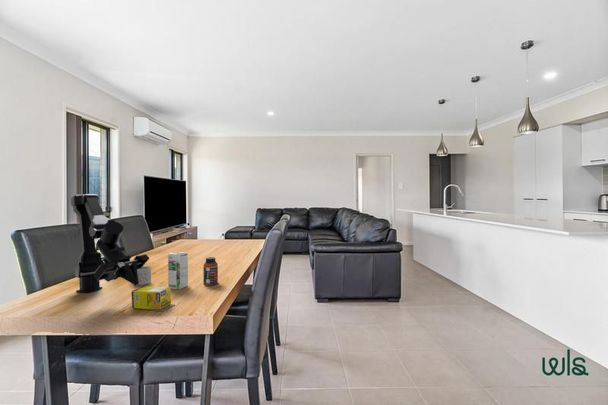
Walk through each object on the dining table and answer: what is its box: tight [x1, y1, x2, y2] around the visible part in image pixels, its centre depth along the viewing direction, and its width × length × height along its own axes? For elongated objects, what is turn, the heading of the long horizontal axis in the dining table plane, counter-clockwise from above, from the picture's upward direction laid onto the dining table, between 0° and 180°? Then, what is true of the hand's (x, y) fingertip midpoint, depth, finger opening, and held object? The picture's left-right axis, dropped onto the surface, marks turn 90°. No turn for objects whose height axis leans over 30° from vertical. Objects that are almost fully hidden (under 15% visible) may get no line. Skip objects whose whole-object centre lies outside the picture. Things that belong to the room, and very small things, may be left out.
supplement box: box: [131, 285, 172, 310], centre depth 109 cm, size 6×6×11 cm
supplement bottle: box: [202, 256, 219, 286], centre depth 137 cm, size 6×6×11 cm
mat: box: [137, 303, 176, 313], centre depth 109 cm, size 11×6×1 cm, turn 73°
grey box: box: [137, 265, 152, 286], centre depth 140 cm, size 10×7×7 cm
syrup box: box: [167, 251, 189, 290], centre depth 132 cm, size 6×6×14 cm
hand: (137, 284), depth 109 cm, fingers closed
